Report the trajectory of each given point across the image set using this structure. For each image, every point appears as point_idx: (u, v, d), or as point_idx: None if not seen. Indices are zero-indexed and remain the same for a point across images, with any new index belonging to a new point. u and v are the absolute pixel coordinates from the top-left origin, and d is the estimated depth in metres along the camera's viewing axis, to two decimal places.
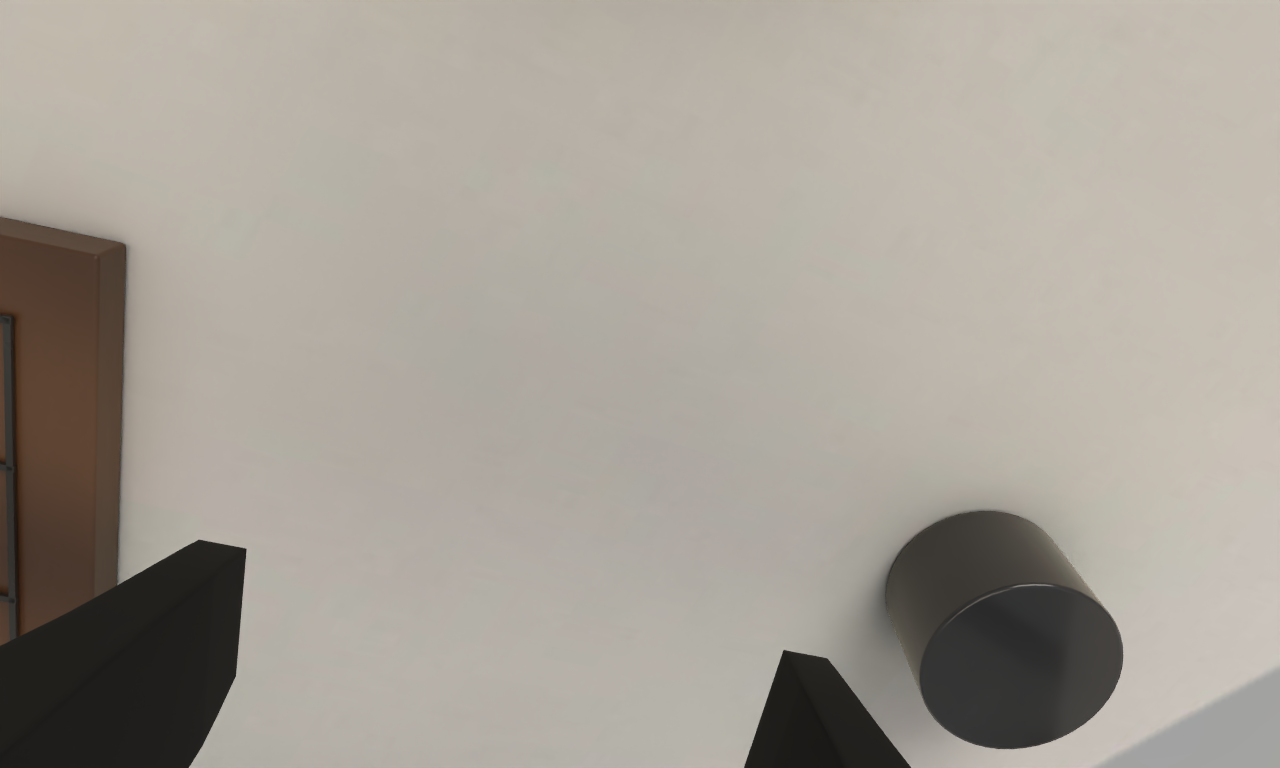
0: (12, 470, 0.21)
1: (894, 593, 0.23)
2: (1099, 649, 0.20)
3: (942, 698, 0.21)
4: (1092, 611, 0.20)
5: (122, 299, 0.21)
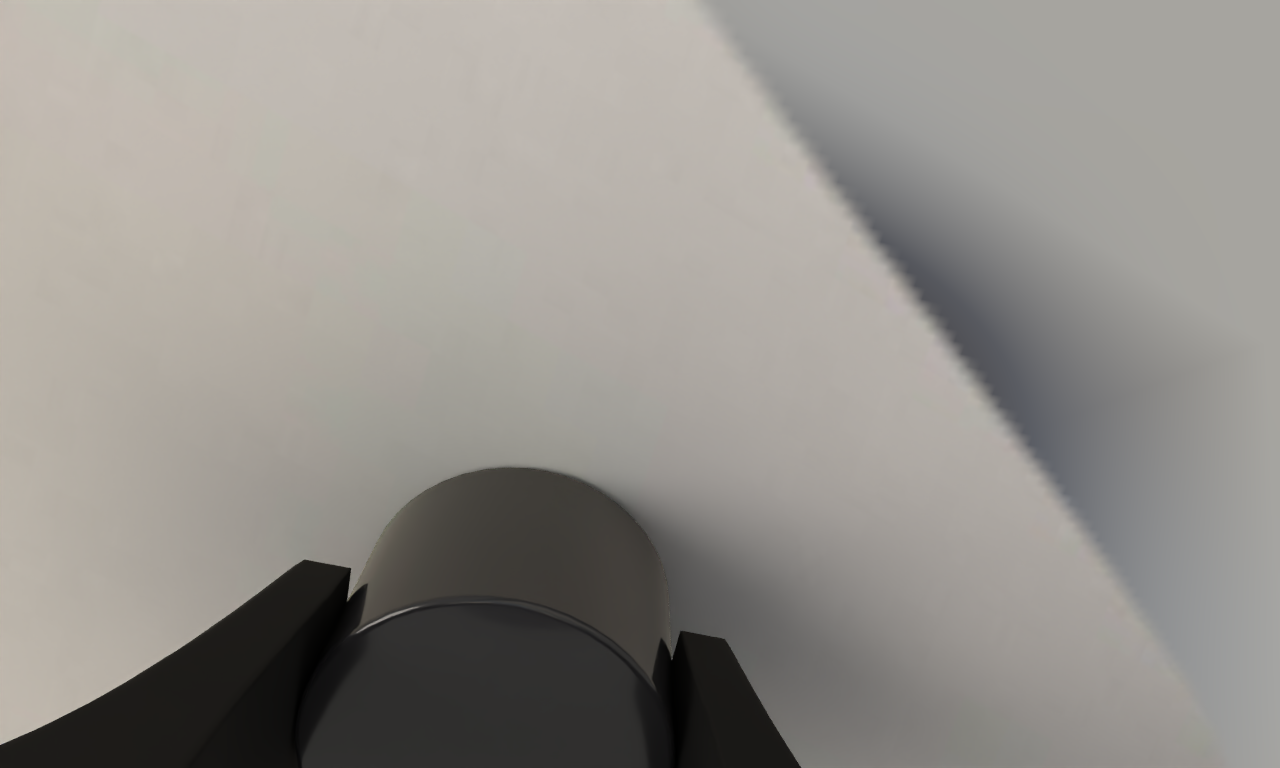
0: None
1: None
2: (424, 646, 0.10)
3: None
4: (341, 667, 0.10)
5: None
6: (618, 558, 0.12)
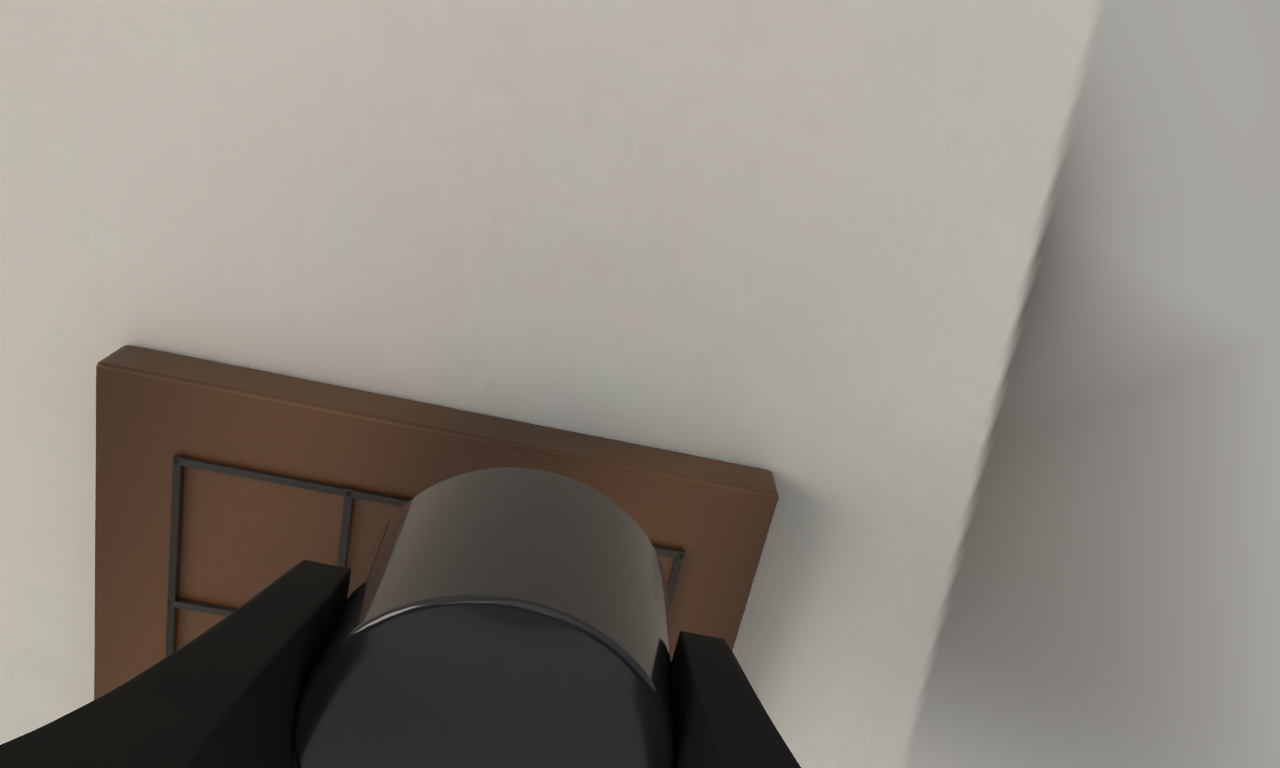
0: (354, 492, 0.20)
1: None
2: (423, 646, 0.10)
3: None
4: (340, 667, 0.10)
5: (181, 357, 0.20)
6: (617, 557, 0.12)
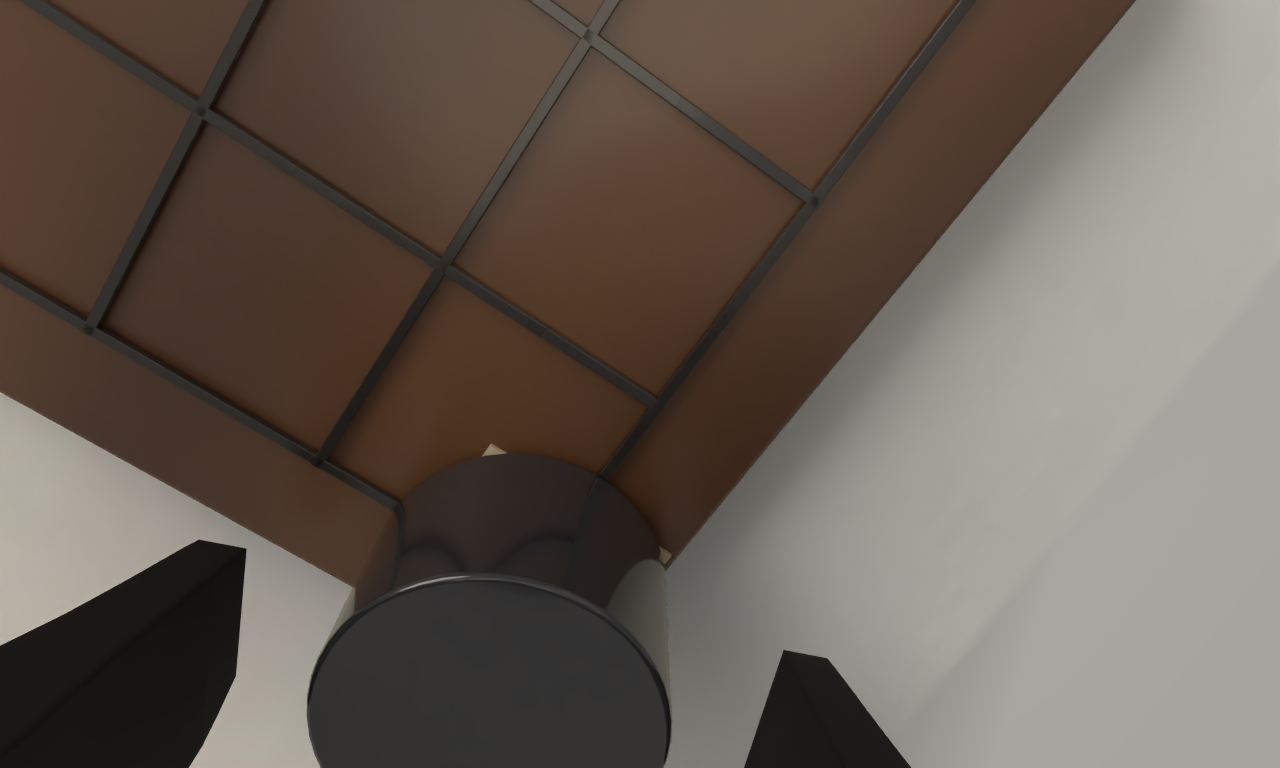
0: None
1: None
2: (431, 621, 0.11)
3: None
4: (351, 642, 0.11)
5: None
6: (617, 539, 0.12)
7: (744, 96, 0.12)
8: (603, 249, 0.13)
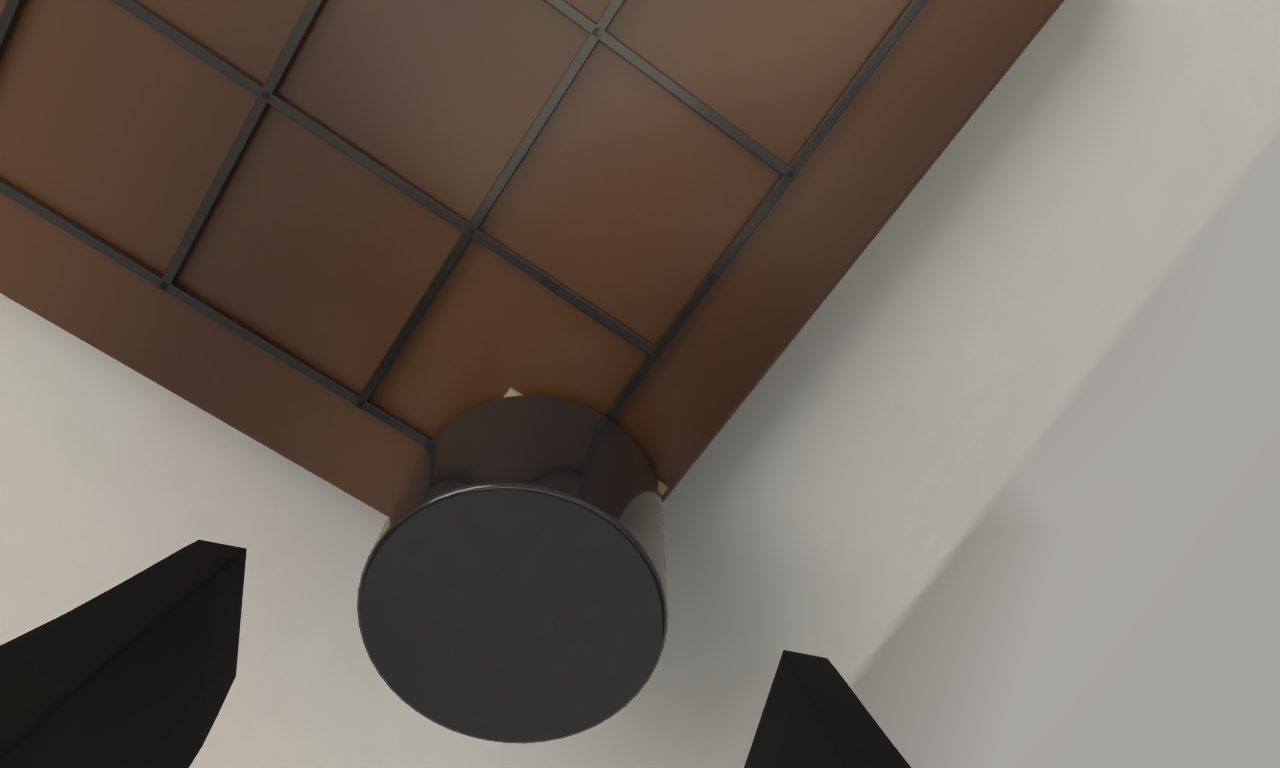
0: None
1: None
2: (464, 524, 0.13)
3: (567, 716, 0.14)
4: (396, 543, 0.13)
5: None
6: (620, 465, 0.14)
7: (729, 83, 0.14)
8: (609, 216, 0.15)
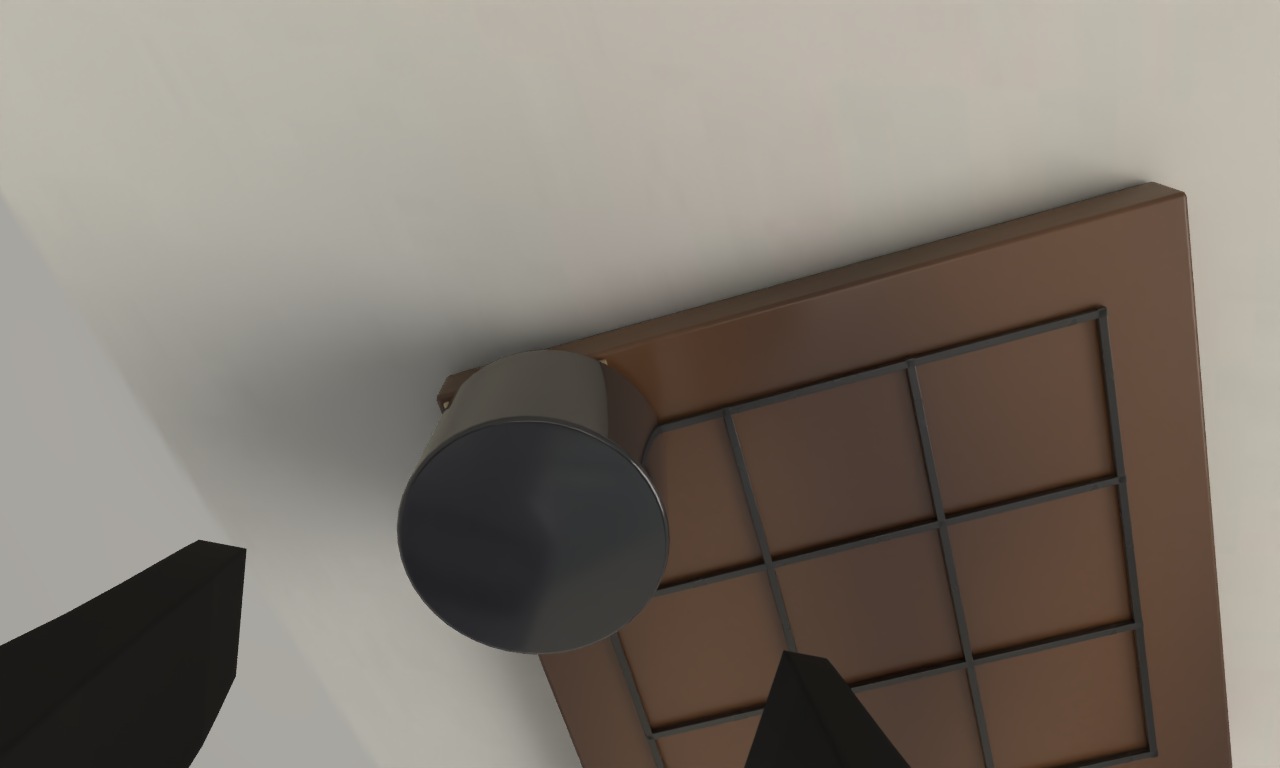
0: None
1: (460, 393, 0.17)
2: (631, 573, 0.15)
3: (422, 518, 0.15)
4: (654, 522, 0.15)
5: None
6: None
7: (722, 734, 0.21)
8: (707, 634, 0.20)
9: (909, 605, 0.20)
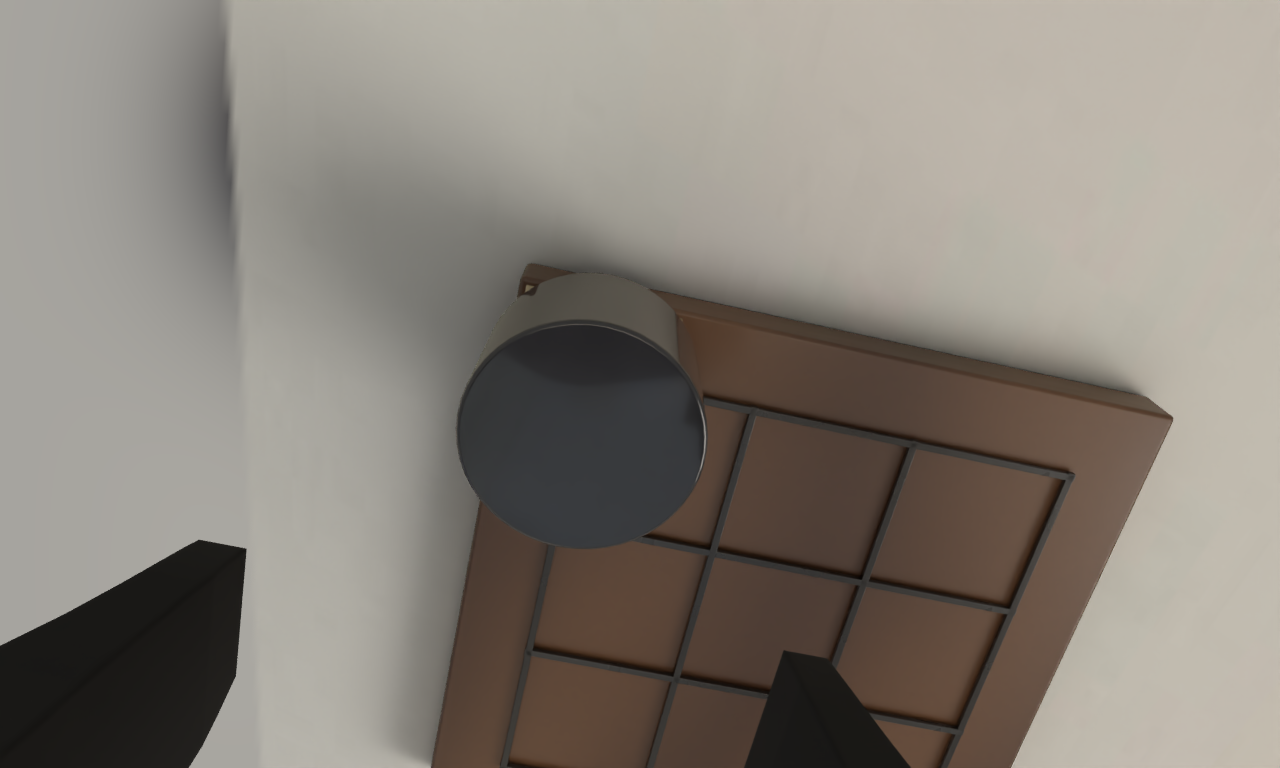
0: None
1: (557, 284, 0.18)
2: (646, 505, 0.17)
3: (502, 374, 0.16)
4: (689, 472, 0.17)
5: None
6: None
7: (588, 677, 0.22)
8: (627, 587, 0.22)
9: (799, 637, 0.22)
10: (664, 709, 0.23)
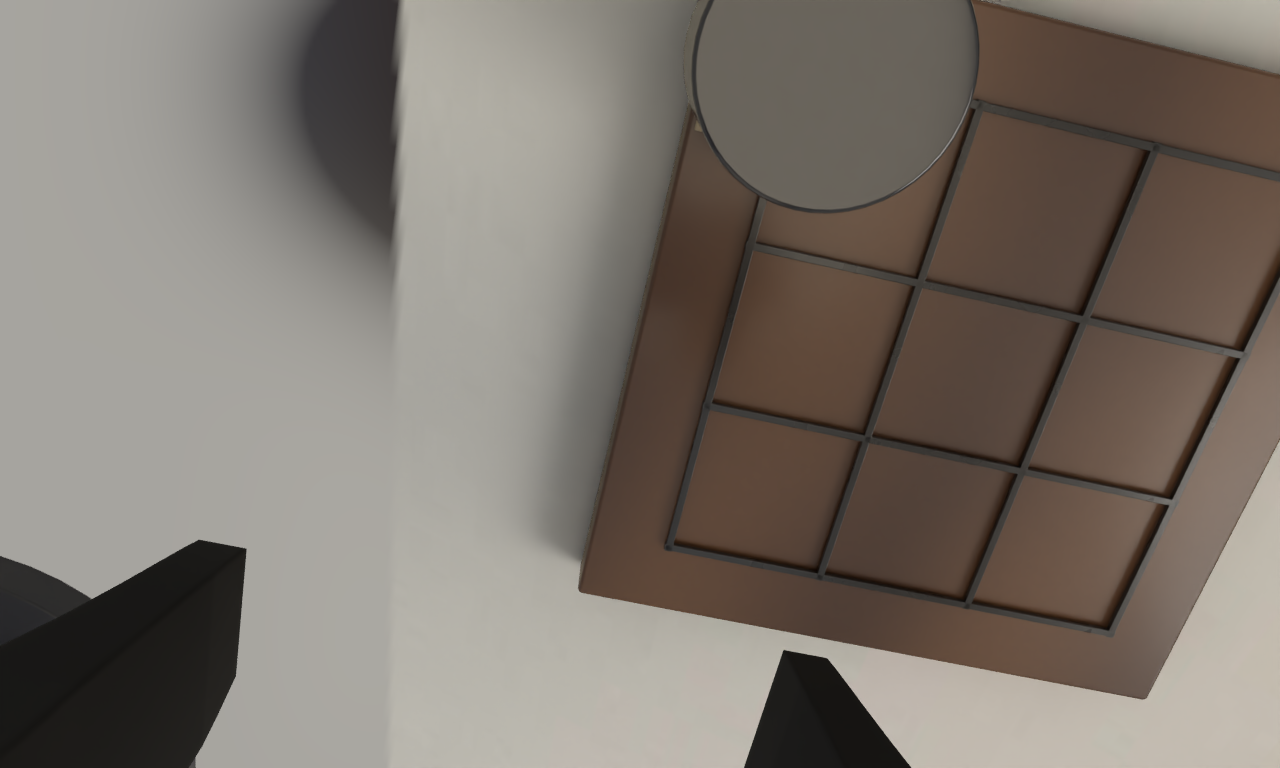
0: (962, 602, 0.22)
1: None
2: (901, 154, 0.15)
3: None
4: (954, 112, 0.15)
5: None
6: None
7: (769, 438, 0.20)
8: (820, 328, 0.20)
9: (1005, 389, 0.20)
10: (851, 475, 0.21)
